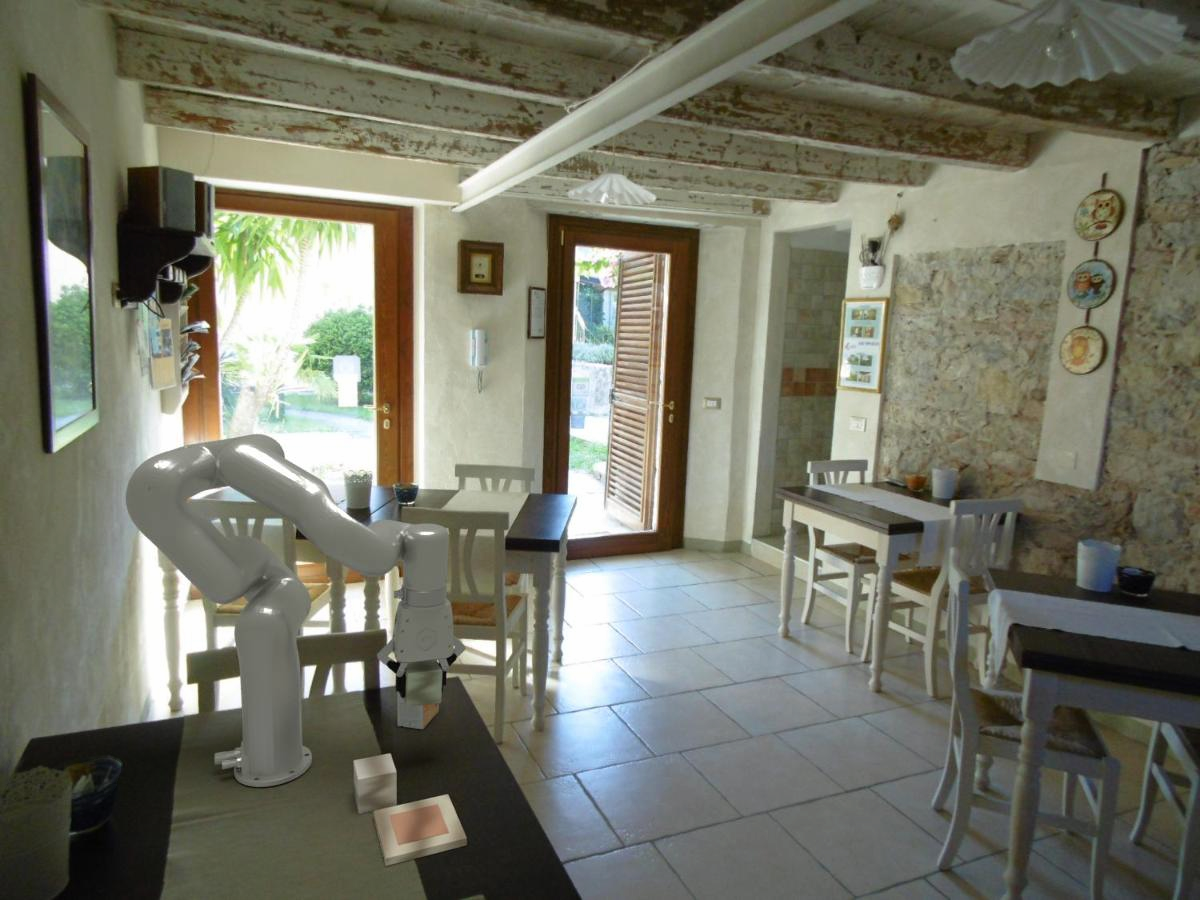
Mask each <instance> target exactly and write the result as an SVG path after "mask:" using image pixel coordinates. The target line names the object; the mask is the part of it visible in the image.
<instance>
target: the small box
mask: <svg viewBox="0 0 1200 900" xmlns="http://www.w3.org/2000/svg"><path fill="white" fill-rule="evenodd" d="M396 693H397V695H396V696H397V697H396V700H397V701H396V702H397V704H396V705H397V707H396V708H397V709H396V710H397V712H396V713H397V714H396V715H397V718H396V719H397V721H396V723H397V727H401V726H403V728H409V729H417V730H418V729H419V730H425V728H426V726H428V724H429V723H430V722H431V721H432V719H433V718H435V717H436V715H437V714H438V713H439V710H440V703H436V704H429V705H422V706H415V707H408V708H407V707H406V705H405V702H404V700H403V698H401V696H400V693H399V692H396Z"/></svg>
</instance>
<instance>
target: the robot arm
mask: <svg viewBox="0 0 1200 900" xmlns="http://www.w3.org/2000/svg"><path fill="white" fill-rule="evenodd" d="M226 487H229V488H231V489H233V490H234V491H236V492H238V493H239V494H241V495H243V496H244V497H247V498H248V499H250V500H252V501H254V502H256V503H257V504H259V505H261V506H262V507H265V508H266V509H268V510H270V511H271V512H273V513H275V514H276V515H278V516H280V517H282V518H283V519H285V520H286V521H288V522H290V523H292V525H294V526H295V527H296V528H297V530H298V531H299V532H300V533H301V534H302V535H303V536H304V537H305V538H306V539H307V540H308V541H309V542H311V544H313V546H315V547H316V548H317V549H318V550H319V551H320V552H322V553H323V554H324V555H326V556H327V557H329V558H331V560H334V561H335V562H337V563H338V564H341V565H342V566H344V567H346V568H348V569H350V570H352V571H353V572H355V573H358V574H360V575H363V576H366V577H371V578H373V577H375V578H376V577H382V576H385V575H386V574H388V573H390V571H392V570H393V569H394V568H395V566H396V565H397V564H398V562H400V561H401V562H402V565H403V566H402V567H403V569H402V570H403V571H402V584H401V587H400V589H398V590H393V598H394V599H399V600H400V601H398V603H397V608H396V612H395V617H394V624H393V630H392V638H391V639H390V640H389V641H388V642H387V643H386V645H385V646H383V647H382V648H381V649H380V651H379V652H378V653H377V654H376V657H377V659H378V661H380V662H381V663H382V664H383V665H385V666H386V667H387V668H388V669H389V670H390V671H392V672H393V673H394V674H395V692H396V693H397V692H399V693H400V696H401V698H405V690H406V676H405V672H404V671H405V669H406V667H407V665H408V663H415V662H423V661H432V660H437V662H438V664H439V665H440V667H441V669H442V693H444V687H445V686H446V685H447V675H448V674H447V673H448V671H449V670H450V667H451V666H452V665H453V664H454V663H455V661H456V660H457V659H458V657H460V656H461V655H462V654H463V653H464V652H465V651H466V649H467V647H466V645H465V644H464V643H463V642H462V641H461V640H460V639H459V638H458V637H456V636H455V635H454V620H453V619H454V617H453V609H452V603H451V601H450V600H449V599H447V588H448V587H447V582H448V565H449V563H448V560H449V559H448V558H449V540H450V539H449V532H448V530H447V528H445V526H443V525H440V524H436V523H418V524H415V523H408V522H402V521H397V520H392V519H378V520H375V521H373V522H371V523H369V524H368V525H367V526H366V525H365V524H363V523H361V522H360V521H359V520H357V519H355V518H354V517H352V516H350V515H349V514H348V513H347V512H345V511H344V510H343V509H342V508H341V507H340V506H339V505H338V504H337V502H336V501H335V500H334V498H333V497H332V494H331V492H330V490H329V487H328V486H327V485H326V483H325V482H324V481H323V480H322V479H321V478H319V477H317V476H315V475H314V474H312V473H311V472H309V471H307V470H305V469H303V468H301V467H300V466H298V465H296V464H295V463H293V462H292V461H290V460H288V459H287V458H286V455H285V451H284V449H283V447H282V446H281V444H280V443H279V442H278V440H276V439H274V438H273V437H271V436H269V435H266V434H262V433H254V434H253V433H252V434H247V435H242V436H236V437H231V438H225V439H224V438H223V439H218V440H217V439H216V440H211V441H204V442H199V443H192V444H186V445H183V446H180V447H177V448H174V449H171V450H166V451H163V452H160V453H157V454H155V455H154V456H151V457H150V458H147V459H146V460H144V461H143V462H142V463H141V464H140V465H139V466H138V467H137V468H136V469H134V471H133V472H132V474H131V476H130V479H129V480H128V482H127V486H126V491H125V505H126V510H127V513H128V516H129V517H130V519H131V521H132V523H133V524H134V526H135V527H136V528H137V529H138V531H140V533H141V534H142V535H143V536H144V537H145V538H147V539H148V540H149V541H150V542H151V543H152V544H153V545H154V546H155V547H156V548H157V549H158V550H159V551H160V552H161V553H162V554H163V555H165V557H167V559H168V560H169V561H170V562H171V564H173V565H174V567H176V569H178V571H180V573H181V574H182V575H183V576H184V577H185V578H186V579H187V580H188V582H190V583H191V584H192V585H193V587H195V588H196V589H197V590H198V591H199V592H200V594H202V595H203V597H205V599H207V600H208V601H211V602H212V603H214V604H218V605H228V604H232V603H235V602H236V601H238V600H239V599H241V598H242V597H243V598H244V600H246V601H247V603H246V604H245V605H244V607H243V608H242V610H241V611H240V612H239V615H238V616H237V619H236V621H235V625H234V630H233V631H234V642H235V648H236V653H237V656H238V657H237V658H238V664H239V665H238V667H239V678H240V679H239V680H240V697H241V699H240V700H241V702H240V703H241V724H242V740H241V741H240V747H235V748H234V750H229V751H225V750H224V751H220V752H215V753H214V766H217V765H221V770H227V769H230V768H234V769H233V773H234V774H233V775H234V778H235V780H236V781H237V782H238V783H240V784H243V785H245V786H248V787H255V788H264V787H267V788H268V787H274V786H278V785H281V784H285V783H287V782H291V781H292V780H294V779H297V778H298V777H300V776H301V775H303V774H304V773H305V772H307V770H308V769H309V768H310V767H311V766H312V762H313V755H312V750H310V748H308V747H307V746H305V745H303V724H302V723H303V719H302V718H303V717H302V684H301V682H302V680H301V664H300V663H301V662H300V656H299V654H300V653H299V651H298V645H297V636H298V635H297V634H298V633H299V632H298V631H299V630H300V629H301V627H302V625H303V624H304V623H305V621H306V620H307V617H308V616H309V614H310V611H311V608H312V598H311V594H310V592H309V590H308V588H307V587H306V585H305V583H303V581H301V579H300V578H298V576H297V575H296V574H295V573H294V572H293V571H292V570H291V569H290V568H289V566H287V565H286V563H284V561H282V559H281V558H280V557H279V556H278V555H277V554H276V553H275V552H274V551H273V550H272V549H271V548H270V547H269V546H268V545H267V544H266V543H264V542H263V541H262V540H260V539H258V538H256V537H255V536H250V535H243V534H240V535H234V536H230V537H228V538H227V537H226V536H225V535H224V534H223V533H222V532H221V531H220V530H219V529H218V528H217V527H216V526H215V524H214V523H213V522H212V521H211V520H210V519H209V518H208V517H206V516H205V515H203V514H202V513H200V512H199V511H197V510H195V509H194V508H192V507H191V505H190V504H189V503H188V500H189V499H190V498H193V497H195V496H196V495H199V494H200V493H202V492H204V491H205V492H206V491H209V490H214V489H220V488H226ZM392 653H394V658H395V660H396V661H395V660H394V659H393V658H391V657H390V655H391V654H392Z"/></svg>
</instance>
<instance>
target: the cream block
mask: <svg viewBox="0 0 1200 900" xmlns="http://www.w3.org/2000/svg"><path fill="white" fill-rule="evenodd" d="M397 778H398V777H397V769H396V766H395V763H394V760H393V757H392V754H391V753H385V754H380V755H379V754H378V755H373V756H369V757H365V758H359V759H354V760H353V793H354V799H355V805H356V808H357V812H358V815H359V814H363V813H364V812H365V813H369V812H373V810H374V811H375V810H380V809H384V808H389V807H393V806H398V804H397V803H398V798H397V797H398V796H397V795H398V794H397V792H398V791H397ZM368 811H369V812H368Z"/></svg>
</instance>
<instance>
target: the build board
mask: <svg viewBox="0 0 1200 900" xmlns="http://www.w3.org/2000/svg"><path fill="white" fill-rule="evenodd" d="M372 812H373V813H372V815H373V816H372V818H373V822H374V827H375V830H376V834H377V837H378V841H380V842H379V845H380V849H381V850H380V851H381V853H383V854H382V857H384V858H383V861H384V865H385V867H387V866H391V865H394V864H395V865H396V864H401V863H403V862H404V863H405V862H407V861H411V860H414V859H419V858H422V857H427V856H431V855H434V854H438V853H442V852H445V851H450V850H453V849H458V848H462V847H466V846H467V845H468V844H467V843H468V840H467V839H468V837H467V836H466V832H465V830H464V828H463V826H462V824H461V821H460V819H459V817H458V815H457V812H456V809H455V807H454V805H453V803H452V800H451V798H450V796H449V793H447V794H442V795H438V796H435V797H430V798H429V797H428V798H426V799H420V800H416V801H411V802H407V803H402V804H397V805H396V806H392V807H387V808H383V809H378V810H374V811H372Z"/></svg>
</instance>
